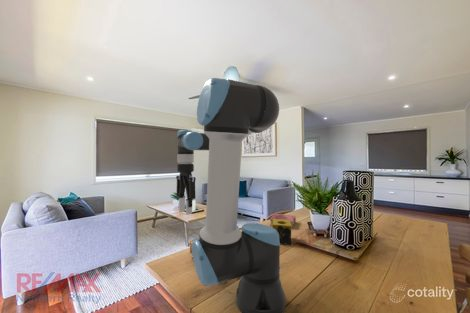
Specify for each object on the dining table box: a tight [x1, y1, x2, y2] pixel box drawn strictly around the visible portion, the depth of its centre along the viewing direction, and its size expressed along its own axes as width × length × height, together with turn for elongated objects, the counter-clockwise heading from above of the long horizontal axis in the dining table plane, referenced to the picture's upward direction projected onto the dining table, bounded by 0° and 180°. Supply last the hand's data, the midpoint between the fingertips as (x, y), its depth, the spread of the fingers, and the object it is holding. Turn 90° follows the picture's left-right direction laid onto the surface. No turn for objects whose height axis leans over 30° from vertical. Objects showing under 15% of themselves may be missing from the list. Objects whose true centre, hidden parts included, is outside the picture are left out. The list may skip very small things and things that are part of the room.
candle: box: [271, 219, 292, 246], centre depth 111 cm, size 10×10×10 cm
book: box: [269, 213, 297, 230], centre depth 138 cm, size 14×15×5 cm
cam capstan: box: [189, 240, 194, 254], centre depth 96 cm, size 15×6×5 cm, turn 134°
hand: (185, 212), depth 96 cm, fingers open, 6 cm apart
